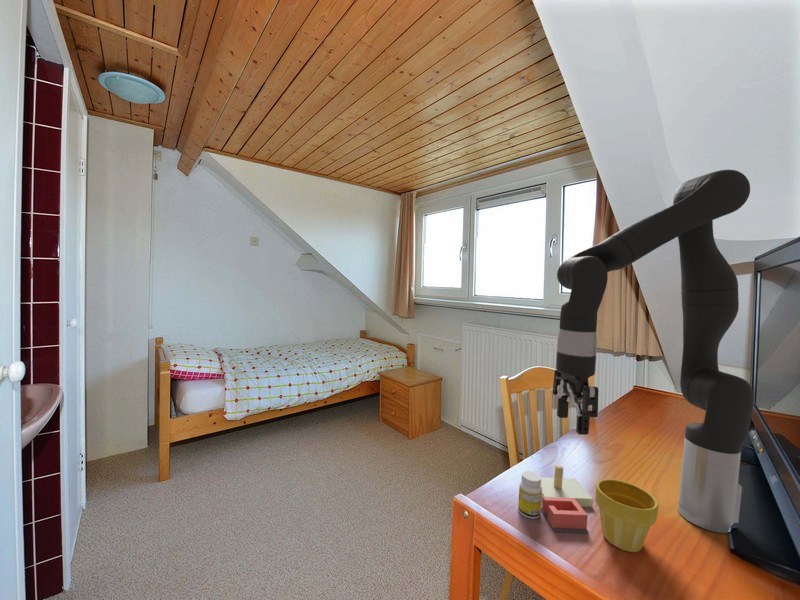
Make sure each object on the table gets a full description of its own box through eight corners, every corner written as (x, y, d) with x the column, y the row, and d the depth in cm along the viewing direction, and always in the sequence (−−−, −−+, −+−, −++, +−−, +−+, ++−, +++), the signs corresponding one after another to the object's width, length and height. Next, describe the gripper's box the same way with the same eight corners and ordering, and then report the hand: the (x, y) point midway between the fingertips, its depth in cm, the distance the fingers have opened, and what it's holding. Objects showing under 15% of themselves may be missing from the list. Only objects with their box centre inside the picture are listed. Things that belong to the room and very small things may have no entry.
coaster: (571, 510, 78) (571, 508, 78) (588, 533, 71) (588, 531, 71) (540, 509, 78) (540, 507, 78) (554, 532, 71) (554, 530, 71)
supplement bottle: (522, 502, 81) (524, 467, 80) (543, 511, 78) (546, 475, 77) (514, 512, 77) (517, 476, 76) (536, 522, 74) (539, 484, 73)
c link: (573, 510, 78) (574, 498, 77) (586, 529, 72) (587, 515, 72) (541, 509, 78) (542, 496, 77) (552, 527, 72) (553, 513, 72)
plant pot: (629, 521, 75) (633, 478, 75) (667, 560, 65) (672, 510, 64) (582, 521, 75) (586, 477, 74) (613, 559, 65) (617, 509, 64)
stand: (574, 486, 88) (576, 459, 87) (592, 507, 80) (594, 477, 79) (531, 484, 88) (533, 457, 87) (544, 505, 80) (546, 475, 79)
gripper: (614, 359, 67) (608, 440, 68) (576, 345, 81) (572, 412, 82) (575, 358, 67) (570, 440, 68) (544, 344, 81) (540, 412, 82)
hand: (571, 425), depth 75 cm, fingers open, 8 cm apart
